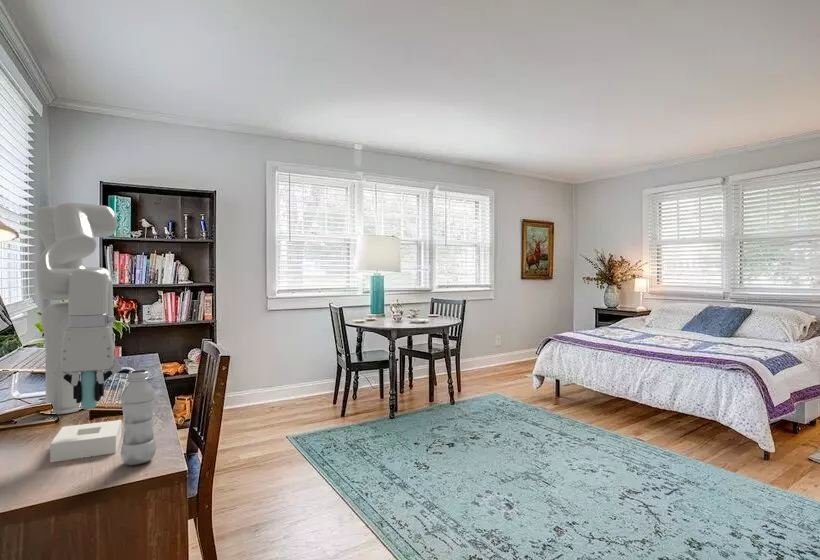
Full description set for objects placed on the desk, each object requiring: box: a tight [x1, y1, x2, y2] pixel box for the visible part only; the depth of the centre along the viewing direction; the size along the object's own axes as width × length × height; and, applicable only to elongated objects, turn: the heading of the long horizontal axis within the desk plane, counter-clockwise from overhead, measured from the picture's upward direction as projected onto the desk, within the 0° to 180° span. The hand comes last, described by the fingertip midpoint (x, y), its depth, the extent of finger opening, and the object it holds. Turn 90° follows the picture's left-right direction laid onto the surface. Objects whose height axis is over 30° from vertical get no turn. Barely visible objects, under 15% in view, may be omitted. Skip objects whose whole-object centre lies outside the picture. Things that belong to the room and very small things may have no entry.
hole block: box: [49, 419, 123, 463], centre depth 106 cm, size 12×12×4 cm
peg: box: [81, 371, 98, 410], centre depth 105 cm, size 3×3×10 cm
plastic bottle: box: [120, 369, 157, 466], centre depth 98 cm, size 6×7×20 cm
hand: (88, 400), depth 105 cm, fingers closed on peg, 3 cm apart
